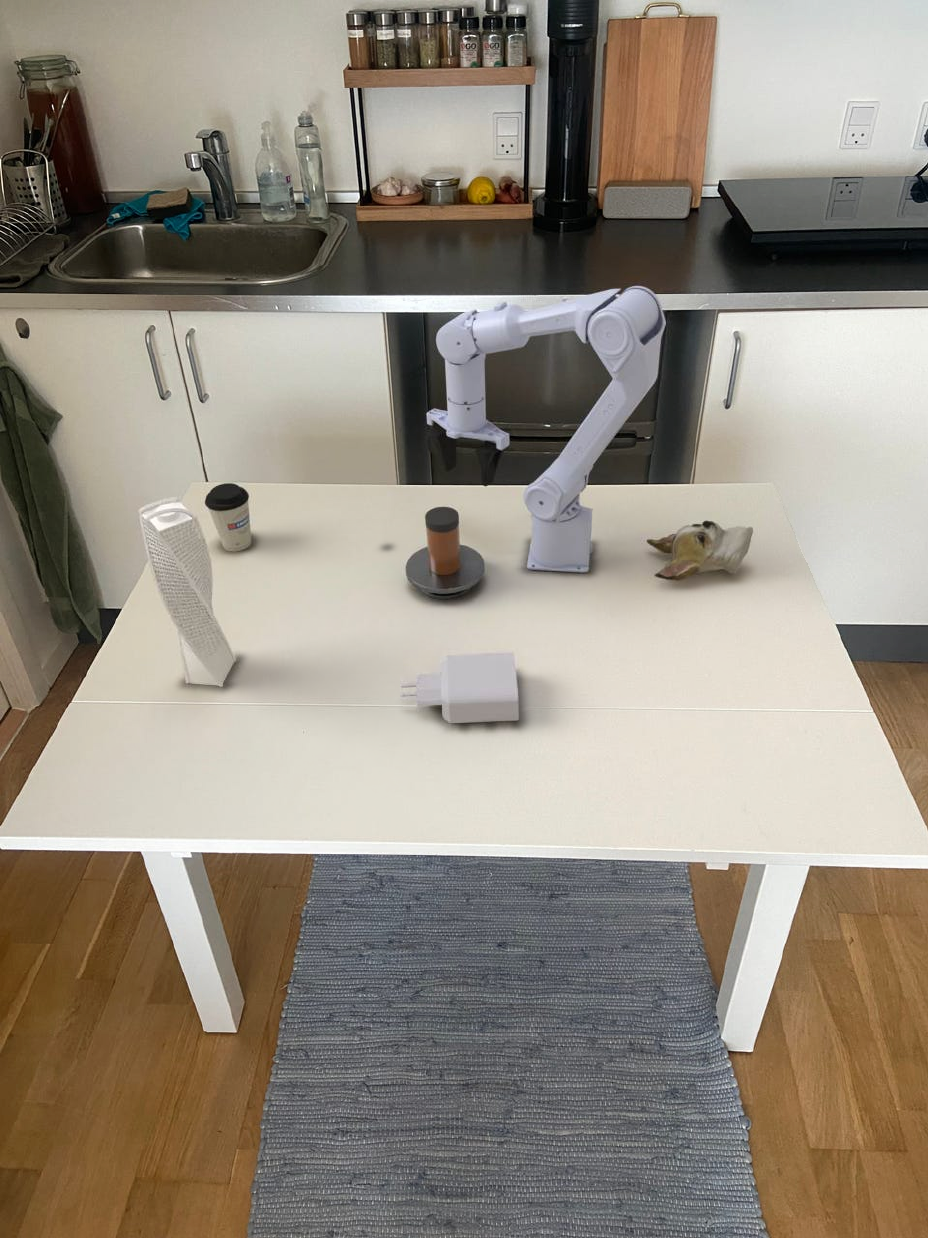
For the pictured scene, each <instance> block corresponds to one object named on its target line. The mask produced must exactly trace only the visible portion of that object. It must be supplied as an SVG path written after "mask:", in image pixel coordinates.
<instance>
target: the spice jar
mask: <svg viewBox="0 0 928 1238" xmlns="http://www.w3.org/2000/svg"><path fill="white" fill-rule="evenodd" d="M424 521H425V531H426V540H427V541H426V542H427V543H426V544H427V547H428V557H429V568H430V570H431V571H432V572H434V573H436V574H439V575H449V574H453V573H455V572H457V571H458V570H459V569H460V567H461V557H460V545H461V541H460V540H461V539H460V538H461V537H460V514H459V512H458V511H457V510H456V509H455V508H453V507H450V506H437V507H433V508H431V509H429V510H428V511H426V513H425V516H424Z"/></svg>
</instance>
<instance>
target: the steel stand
mask: <svg viewBox="0 0 928 1238" xmlns="http://www.w3.org/2000/svg"><path fill="white" fill-rule="evenodd" d="M460 557H461V567H460V569H459V570H458V571H457V572H455V573H453V574H449V575H439V574H436V573H434V572H432V571H431V570H430V568H429V557H428V546H425V547H422V548H420V549H419V550H417V551H415V552H414V553H413V554H411V556H410V557H409V558H408V559H407V561H406V564H405V576H406V578H407V580H408V582H409V583H410V584H411V585H413V586H414V587H415V588H417V590H419V592H421V593H422V594H423V595H424V596H427V597H429V598H432V599H437V600H452V599H457V598H459V597H462V596H465V595H466V594H468V593H469V592H471V591H472V590H473V588H474V587H475V585H476V584H478V583H479V582H480V581H481V580H482V578H483V576H484V574H485V570H486V563H485V560H484V558H483V556H482V555H481V554H480V553H479V551H477V550H476V549H474V548H472V547H470V546H467V545H464V544H460Z"/></svg>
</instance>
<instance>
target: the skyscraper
mask: <svg viewBox="0 0 928 1238" xmlns="http://www.w3.org/2000/svg"><path fill="white" fill-rule="evenodd" d="M168 502H169V503H168ZM155 506H157V507H156V508H153V509H150V508H152V507H155ZM147 509H150V510H147ZM145 510H146V511H145ZM144 511H145V512H144ZM137 513H138V517H139V523H140V529H141V533H142V538H143V543H144V547H145V552H146V557H147V560H148V564H149V569H150V572H151V575H152V578H153V581H154V584H155V587H156V589H157V593H158V594H159V596H160V597H159V598H160V600H161V602H162V604H163V606H164V608H165V610H166V612H167V614H168V615H169V617H170V619H171V621H172V623H173V625H174V626H175V628H176V630H177V636H178V642H179V649H180V654H181V655H180V656H181V661H182V668H183V674H184V679H185V683H186V684H192V685H193V684H194V685H205V686H218V687H219V688H223V687H224V683H225V680H226V679H227V677H228V675H229V673H230V671H231V669H232V667H233V665H234V664H235V663H236V662H237V658H236V656H235V654H234V652H233V650H232V648H231V646H230V644H229V642H228V640H227V637H226V635H225V633H224V631H223V629H222V628H221V625H220V624H219V622H218V620H217V618H216V615H215V614H214V610H213V604H212V602H213V589H214V588H213V582H214V581H213V580H214V579H213V568H212V567H213V566H212V559H211V554H210V550H209V547H208V543H207V540H206V537H205V535H204V532H203V529H202V527H201V524H200V521H199V519H198V516H197V515H196V514H194V513H193V512H191V511H189V510H188V508H187V507H185V505H183V503H182V502H181V499H180V497H177V496H172V497H167V498H163V499H159V500H156V501H154V502H151V503H148V504H146V505H143V506H142V507H140V508H139V509H138V511H137Z"/></svg>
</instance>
